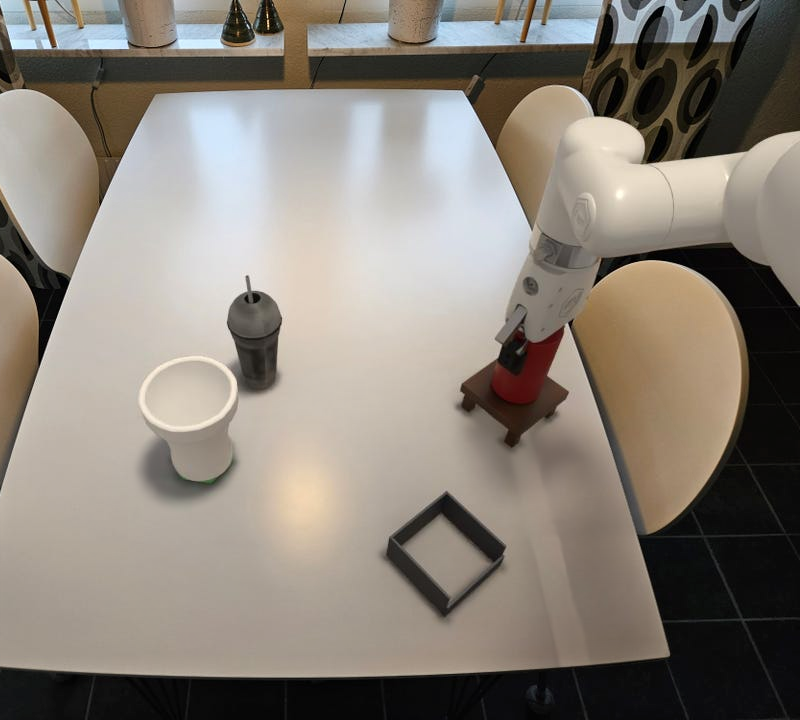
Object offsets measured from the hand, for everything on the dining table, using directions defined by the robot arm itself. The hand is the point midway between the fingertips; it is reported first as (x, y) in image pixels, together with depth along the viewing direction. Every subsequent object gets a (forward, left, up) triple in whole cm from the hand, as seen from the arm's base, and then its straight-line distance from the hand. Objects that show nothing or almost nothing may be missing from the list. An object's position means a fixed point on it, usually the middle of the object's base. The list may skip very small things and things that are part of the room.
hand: (527, 354), depth 81 cm
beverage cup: (+26, +23, -12) cm, 37 cm away
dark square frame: (-10, +23, -12) cm, 27 cm away
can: (0, 0, -6) cm, 6 cm away
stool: (0, 0, -11) cm, 11 cm away
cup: (+19, +37, -12) cm, 43 cm away
